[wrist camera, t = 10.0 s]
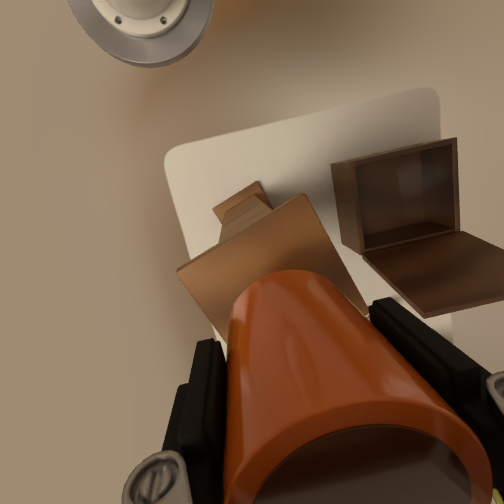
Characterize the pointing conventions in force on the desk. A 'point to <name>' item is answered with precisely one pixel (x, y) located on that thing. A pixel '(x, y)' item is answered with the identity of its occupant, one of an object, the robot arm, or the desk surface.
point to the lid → (443, 273)
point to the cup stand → (261, 252)
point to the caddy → (398, 196)
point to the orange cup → (335, 408)
